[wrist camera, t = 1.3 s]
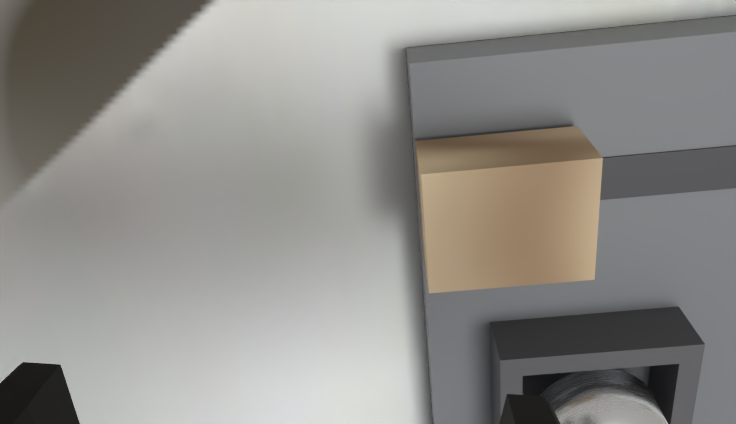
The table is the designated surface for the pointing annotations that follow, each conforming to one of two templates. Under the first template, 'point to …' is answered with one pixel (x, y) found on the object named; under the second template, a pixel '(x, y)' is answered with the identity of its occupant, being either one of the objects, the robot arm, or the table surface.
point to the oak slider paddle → (509, 208)
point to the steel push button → (603, 399)
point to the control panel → (600, 216)
